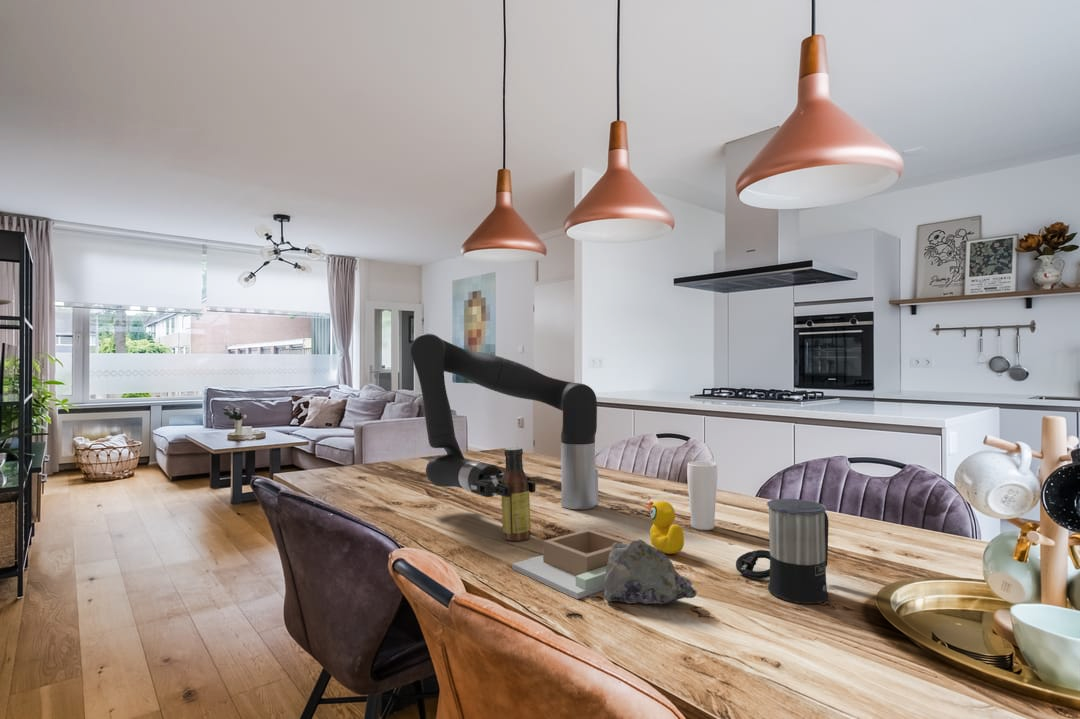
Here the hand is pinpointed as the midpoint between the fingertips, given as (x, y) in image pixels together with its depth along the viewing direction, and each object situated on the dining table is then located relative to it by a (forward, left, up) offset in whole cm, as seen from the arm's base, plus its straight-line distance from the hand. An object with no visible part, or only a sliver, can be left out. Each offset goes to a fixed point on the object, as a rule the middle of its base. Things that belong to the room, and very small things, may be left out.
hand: (521, 489), depth 124 cm
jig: (+1, +22, -11) cm, 24 cm away
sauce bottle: (0, -2, -11) cm, 11 cm away
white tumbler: (-38, +20, -11) cm, 44 cm away
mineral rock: (+4, +39, -11) cm, 41 cm away
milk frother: (-19, +49, -11) cm, 53 cm away
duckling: (-18, +25, -11) cm, 33 cm away
